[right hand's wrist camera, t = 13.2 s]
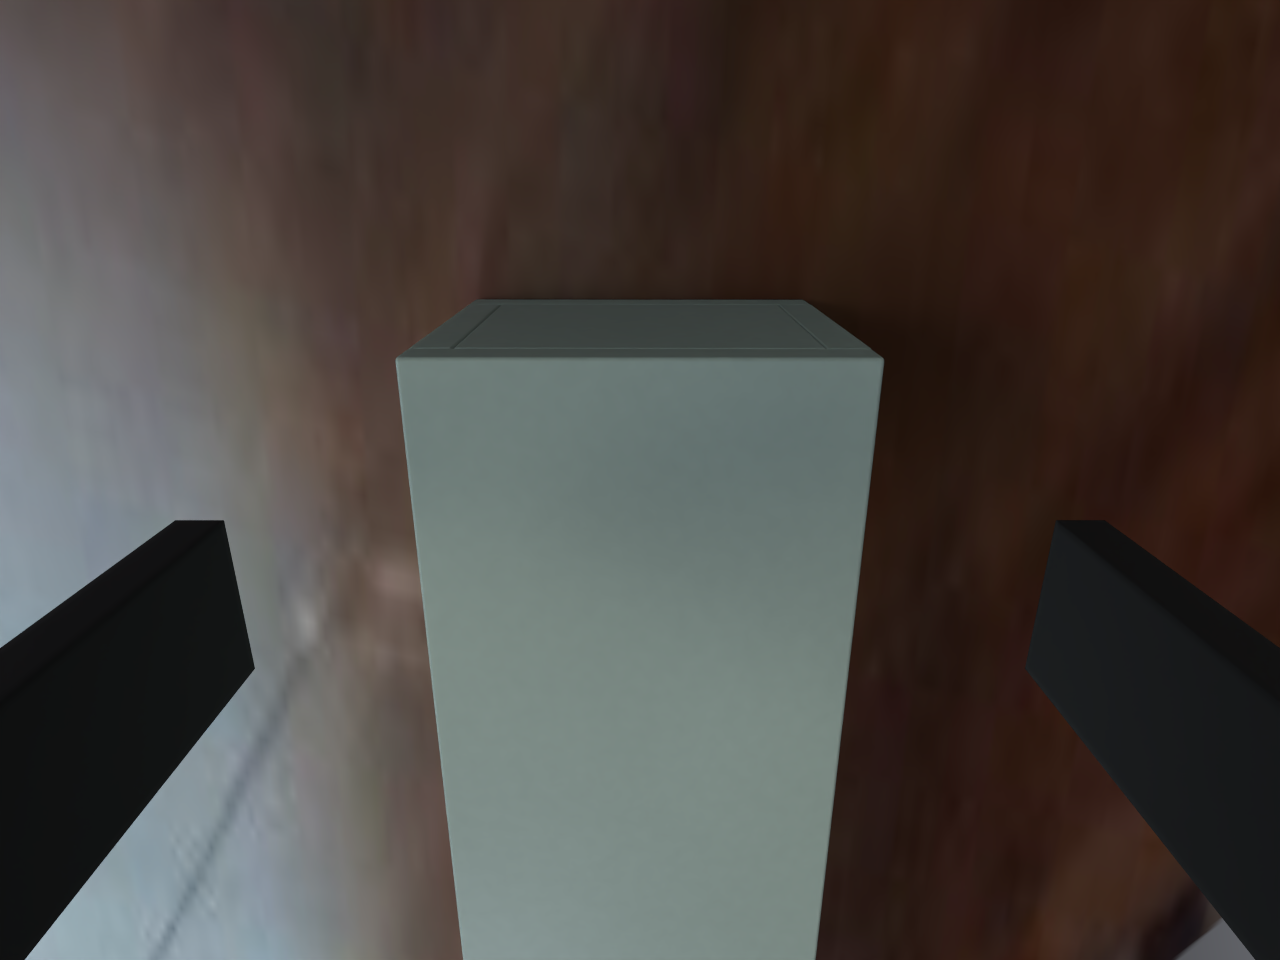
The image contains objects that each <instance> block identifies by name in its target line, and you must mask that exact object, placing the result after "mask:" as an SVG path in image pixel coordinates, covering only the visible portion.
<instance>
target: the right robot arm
mask: <svg viewBox="0 0 1280 960" xmlns="http://www.w3.org/2000/svg"><path fill="white" fill-rule="evenodd" d="M254 669H255V667H254V662H253V657H252V652H251V648H250V643H249V638H248V633H247V629H246V624H245V619H244V614H243V609H242V605H241V600H240V595H239V590H238V586H237V581H236V576H235V571H234V566H233V562H232V557H231V552H230V547H229V542H228V538H227V533H226V528H225V523H224V520H175V521H174V522H172V523H171V524H170V525H168V526H167V527H166V528H164V529H163V530H162V531H160V532H159V533H157V534H156V535H155V536H153V537H152V538H151V539H149V540H148V541H146V542H145V543H144V544H142V545H141V546H140V547H138V548H137V549H135V550H134V551H133V552H131V553H130V554H129V555H127V556H126V557H125V558H123V559H122V560H120V561H119V562H118V563H116V564H115V565H114V566H112V567H111V568H109V569H108V570H107V571H105V572H104V573H103V574H101V575H100V576H99V577H97V578H96V579H94V580H93V581H92V582H90V583H89V584H88V585H86V586H85V587H83V588H82V589H81V590H79V591H78V592H77V593H75V594H74V595H72V596H71V597H70V598H68V599H67V600H66V601H64V602H63V603H62V604H60V605H59V606H57V607H56V608H55V609H53V610H52V611H51V612H49V613H48V614H46V615H45V616H44V617H42V618H41V619H40V620H38V621H37V622H35V623H34V624H33V625H31V626H30V627H29V628H27V629H26V630H25V631H23V632H22V633H20V634H19V635H18V636H16V637H15V638H14V639H12V640H11V641H9V642H8V643H7V644H5V645H4V646H3V647H1V648H0V960H25V959H26V957H27V956H28V955H29V954H30V952H31V951H32V950H33V948H34V947H35V946H36V945H37V943H38V942H39V941H40V940H41V938H42V937H43V936H44V935H45V933H46V932H47V931H48V930H49V928H50V927H51V926H52V924H53V923H54V922H55V921H56V919H57V918H58V917H59V916H60V914H61V913H62V912H63V911H64V909H65V908H66V907H67V905H68V904H69V903H70V902H71V900H72V899H73V898H74V897H75V895H76V894H77V893H78V892H79V890H80V889H81V888H82V887H83V885H84V884H85V883H86V881H87V880H88V879H89V878H90V876H91V875H92V874H93V873H94V871H95V870H96V869H97V868H98V866H99V865H100V864H101V862H102V861H103V860H104V859H105V857H106V856H107V855H108V854H109V852H110V851H111V850H112V849H113V847H114V846H115V845H116V843H117V842H118V841H119V840H120V838H121V837H122V836H123V835H124V833H125V832H126V831H127V830H128V828H129V827H130V826H131V825H132V823H133V822H134V821H135V819H136V818H137V817H138V816H139V814H140V813H141V812H142V811H143V809H144V808H145V807H146V806H147V804H148V803H149V802H150V800H151V799H152V798H153V797H154V795H155V794H156V793H157V792H158V790H159V789H160V788H161V787H162V785H163V784H164V783H165V782H166V780H167V779H168V778H169V776H170V775H171V774H172V773H173V771H174V770H175V769H176V768H177V766H178V765H179V764H180V763H181V761H182V760H183V759H184V757H185V756H186V755H187V754H188V752H189V751H190V750H191V749H192V747H193V746H194V745H195V744H196V742H197V741H198V740H199V739H200V737H201V736H202V735H203V733H204V732H205V731H206V730H207V728H208V727H209V726H210V725H211V723H212V722H213V721H214V720H215V718H216V717H217V716H218V714H219V713H220V712H221V711H222V709H223V708H224V707H225V706H226V704H227V703H228V702H229V701H230V699H231V698H232V697H233V696H234V694H235V693H236V692H237V690H238V689H239V688H240V687H241V685H242V684H243V683H244V682H245V680H246V679H247V678H248V677H249V675H250V674H251V673H252V671H253V670H254ZM1025 669H1026V670H1027V671H1028V673H1029V674H1030V675H1031V677H1032V678H1033V679H1034V680H1035V682H1036V683H1037V684H1038V685H1039V687H1040V688H1041V689H1042V690H1043V692H1044V693H1045V694H1046V696H1047V697H1048V698H1049V699H1050V701H1051V702H1052V703H1053V704H1054V706H1055V707H1056V708H1057V709H1058V711H1059V712H1060V713H1061V714H1062V716H1063V717H1064V718H1065V720H1066V721H1067V722H1068V723H1069V725H1070V726H1071V727H1072V728H1073V730H1074V731H1075V732H1076V733H1077V735H1078V736H1079V737H1080V739H1081V740H1082V741H1083V742H1084V744H1085V745H1086V746H1087V747H1088V749H1089V750H1090V751H1091V752H1092V754H1093V755H1094V756H1095V757H1096V759H1097V760H1098V761H1099V763H1100V764H1101V765H1102V766H1103V768H1104V769H1105V770H1106V771H1107V773H1108V774H1109V775H1110V776H1111V778H1112V779H1113V780H1114V782H1115V783H1116V784H1117V785H1118V787H1119V788H1120V789H1121V790H1122V792H1123V793H1124V794H1125V795H1126V797H1127V798H1128V799H1129V800H1130V802H1131V803H1132V804H1133V806H1134V807H1135V808H1136V809H1137V811H1138V812H1139V813H1140V814H1141V816H1142V817H1143V818H1144V819H1145V821H1146V822H1147V823H1148V825H1149V826H1150V827H1151V828H1152V830H1153V831H1154V832H1155V833H1156V835H1157V836H1158V837H1159V838H1160V840H1161V841H1162V842H1163V844H1164V845H1165V846H1166V847H1167V849H1168V850H1169V851H1170V852H1171V854H1172V855H1173V856H1174V857H1175V859H1176V860H1177V861H1178V862H1179V864H1180V865H1181V866H1182V868H1183V869H1184V870H1185V871H1186V873H1187V874H1188V875H1189V876H1190V878H1191V879H1192V880H1193V881H1194V883H1195V884H1196V885H1197V887H1198V888H1199V889H1200V890H1201V892H1202V893H1203V894H1204V895H1205V897H1206V898H1207V899H1208V900H1209V902H1210V903H1211V904H1212V905H1213V907H1214V908H1215V909H1216V911H1217V912H1218V913H1219V914H1220V916H1221V917H1222V918H1223V919H1224V921H1225V922H1226V923H1227V924H1228V926H1229V927H1230V928H1231V930H1232V931H1233V932H1234V933H1235V935H1236V936H1237V937H1238V938H1239V940H1240V941H1241V942H1242V943H1243V945H1244V946H1245V947H1246V948H1247V950H1248V951H1249V952H1250V954H1251V955H1252V956H1253V957H1254V959H1255V960H1280V648H1279V647H1277V646H1276V645H1275V644H1273V643H1272V642H1271V641H1269V640H1268V639H1266V638H1265V637H1264V636H1262V635H1261V634H1260V633H1258V632H1257V631H1255V630H1254V629H1253V628H1251V627H1250V626H1249V625H1247V624H1246V623H1245V622H1243V621H1242V620H1240V619H1239V618H1238V617H1236V616H1235V615H1234V614H1232V613H1231V612H1229V611H1228V610H1227V609H1225V608H1224V607H1223V606H1221V605H1220V604H1218V603H1217V602H1216V601H1214V600H1213V599H1212V598H1210V597H1209V596H1208V595H1206V594H1205V593H1203V592H1202V591H1201V590H1199V589H1198V588H1197V587H1195V586H1194V585H1192V584H1191V583H1190V582H1188V581H1187V580H1186V579H1184V578H1183V577H1181V576H1180V575H1179V574H1177V573H1176V572H1175V571H1173V570H1172V569H1171V568H1169V567H1168V566H1166V565H1165V564H1164V563H1162V562H1161V561H1160V560H1158V559H1157V558H1155V557H1154V556H1153V555H1151V554H1150V553H1149V552H1147V551H1146V550H1144V549H1143V548H1142V547H1140V546H1139V545H1138V544H1136V543H1135V542H1134V541H1132V540H1131V539H1129V538H1128V537H1127V536H1125V535H1124V534H1123V533H1121V532H1120V531H1118V530H1117V529H1116V528H1114V527H1113V526H1112V525H1110V524H1109V523H1108V522H1106V521H1105V520H1056V523H1055V528H1054V533H1053V538H1052V542H1051V547H1050V552H1049V557H1048V562H1047V566H1046V571H1045V576H1044V581H1043V585H1042V590H1041V595H1040V600H1039V605H1038V609H1037V614H1036V619H1035V624H1034V629H1033V633H1032V638H1031V643H1030V648H1029V652H1028V657H1027V662H1026V667H1025Z"/></svg>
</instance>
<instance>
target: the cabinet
mask: <svg viewBox="0 0 1280 960" xmlns="http://www.w3.org/2000/svg"><path fill="white" fill-rule="evenodd" d="M883 367H884V359H883V358H882V357H881V356H880V355H878V354H877V353H875V352H874V351H873V350H871V348H870V347H868V346H867V345H865V344H864V343H863V342H861V341H860V340H859V339H857V338H856V337H854V336H853V335H852V334H850V333H849V332H848V331H846V330H845V329H843V328H842V327H841V326H839V325H838V324H837V323H835V322H834V321H832V320H831V319H830V318H828V317H827V316H826V315H824V314H823V313H821V312H820V311H819V310H817V309H816V308H815V307H813V306H812V305H810V304H808V303H807V302H806V301H804V300H475V301H474V302H472V303H471V304H470V305H468V306H467V307H466V308H464V309H463V310H461V311H460V312H459V313H457V314H456V315H455V316H453V317H452V318H450V319H449V320H448V321H446V322H445V323H444V324H442V325H441V326H439V327H438V328H437V329H435V330H434V331H433V332H431V333H430V334H428V335H427V336H426V337H424V338H423V339H422V340H420V341H419V342H417V343H416V344H415V345H413V346H412V347H411V348H410V349H408V350H406V351H405V352H404V353H402V354H401V355H400V356H398V357H397V358H396V369H397V377H398V386H399V395H400V404H401V413H402V422H403V431H404V439H405V448H406V457H407V466H408V475H409V484H410V493H411V501H412V510H413V519H414V528H415V537H416V546H417V554H418V563H419V572H420V581H421V590H422V599H423V608H424V616H425V625H426V634H427V643H428V652H429V661H430V669H431V678H432V687H433V696H434V705H435V714H436V723H437V731H438V740H439V749H440V758H441V767H442V776H443V784H444V793H445V802H446V811H447V820H448V829H449V838H450V846H451V855H452V864H453V873H454V882H455V891H456V900H457V908H458V917H459V926H460V935H461V944H462V953H463V960H815V959H816V950H817V941H818V932H819V924H820V915H821V906H822V898H823V889H824V880H825V871H826V863H827V854H828V845H829V837H830V828H831V819H832V811H833V802H834V793H835V784H836V776H837V767H838V758H839V750H840V741H841V732H842V724H843V715H844V706H845V697H846V689H847V680H848V671H849V663H850V654H851V645H852V636H853V628H854V619H855V610H856V602H857V593H858V584H859V576H860V567H861V558H862V549H863V541H864V532H865V523H866V515H867V506H868V497H869V489H870V480H871V471H872V462H873V454H874V445H875V436H876V428H877V419H878V410H879V401H880V393H881V384H882V375H883Z"/></svg>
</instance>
